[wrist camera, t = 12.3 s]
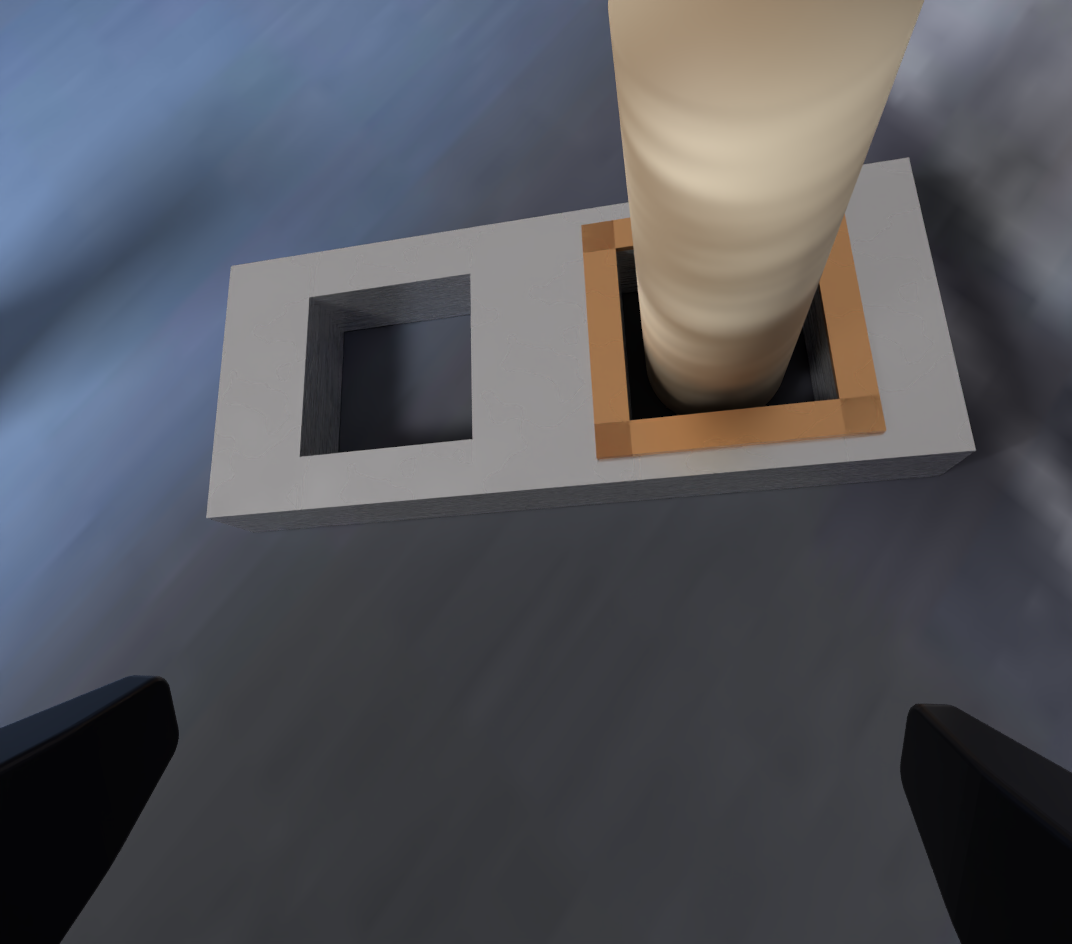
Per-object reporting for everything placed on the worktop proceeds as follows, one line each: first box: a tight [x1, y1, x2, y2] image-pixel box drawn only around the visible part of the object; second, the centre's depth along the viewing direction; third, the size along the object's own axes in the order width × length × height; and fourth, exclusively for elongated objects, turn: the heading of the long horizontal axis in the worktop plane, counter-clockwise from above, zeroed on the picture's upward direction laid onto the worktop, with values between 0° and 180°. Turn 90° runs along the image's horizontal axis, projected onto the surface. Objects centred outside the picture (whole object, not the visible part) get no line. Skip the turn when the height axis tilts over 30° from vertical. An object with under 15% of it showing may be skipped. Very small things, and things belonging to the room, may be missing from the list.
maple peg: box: [608, 0, 924, 415], centre depth 16 cm, size 4×4×13 cm
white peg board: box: [206, 157, 976, 532], centre depth 22 cm, size 22×9×3 cm, turn 92°
